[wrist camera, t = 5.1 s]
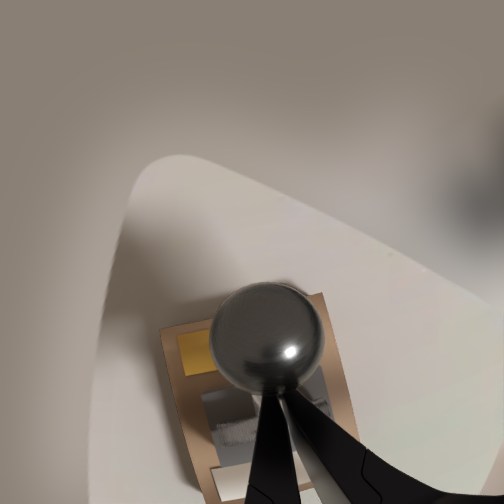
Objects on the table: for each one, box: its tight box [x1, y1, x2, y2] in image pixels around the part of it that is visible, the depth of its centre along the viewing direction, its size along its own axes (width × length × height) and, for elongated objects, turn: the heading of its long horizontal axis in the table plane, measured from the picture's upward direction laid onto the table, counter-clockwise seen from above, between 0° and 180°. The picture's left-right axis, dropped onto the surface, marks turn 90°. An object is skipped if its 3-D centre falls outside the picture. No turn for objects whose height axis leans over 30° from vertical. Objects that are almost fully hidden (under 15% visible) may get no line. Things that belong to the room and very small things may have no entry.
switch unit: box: [159, 292, 360, 504], centre depth 16 cm, size 12×10×5 cm
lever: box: [209, 282, 331, 448], centre depth 10 cm, size 3×5×9 cm
